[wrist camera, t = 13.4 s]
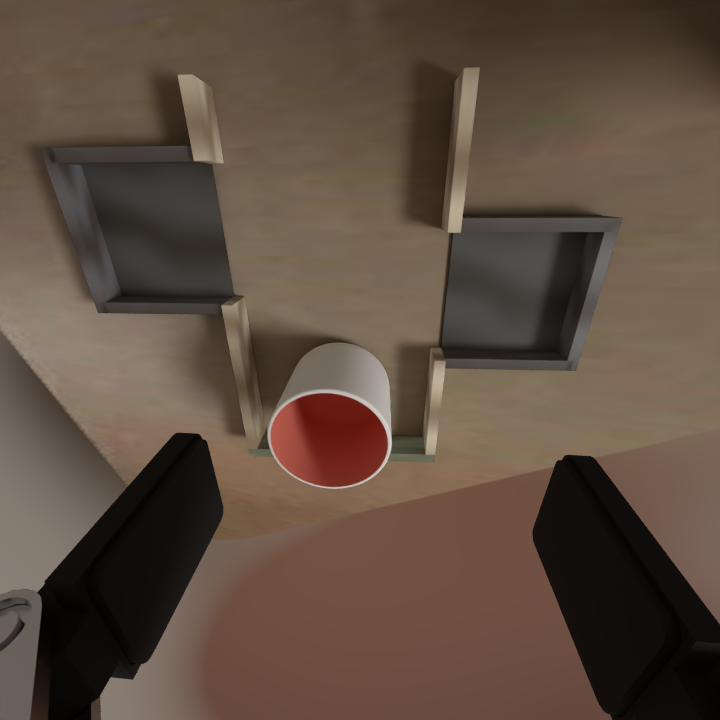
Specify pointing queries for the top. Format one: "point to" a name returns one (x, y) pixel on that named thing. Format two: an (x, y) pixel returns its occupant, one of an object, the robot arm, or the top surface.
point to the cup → (333, 418)
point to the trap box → (216, 296)
